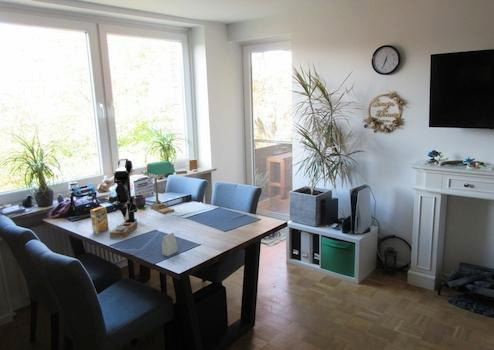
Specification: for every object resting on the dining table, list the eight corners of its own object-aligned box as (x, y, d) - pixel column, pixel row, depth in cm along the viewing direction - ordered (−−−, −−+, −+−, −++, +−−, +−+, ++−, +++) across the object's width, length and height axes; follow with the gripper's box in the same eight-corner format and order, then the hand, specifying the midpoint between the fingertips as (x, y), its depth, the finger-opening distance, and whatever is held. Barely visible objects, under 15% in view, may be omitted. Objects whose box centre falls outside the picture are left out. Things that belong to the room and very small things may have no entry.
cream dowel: (124, 218, 237) (123, 204, 235) (129, 218, 237) (128, 204, 235) (122, 220, 234) (121, 205, 233) (127, 220, 234) (126, 205, 232)
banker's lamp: (165, 205, 292) (161, 159, 285) (179, 210, 276) (176, 162, 270) (146, 209, 283) (141, 162, 276) (159, 215, 267) (155, 165, 260)
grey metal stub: (119, 233, 230) (118, 224, 228) (124, 233, 229) (123, 224, 228) (117, 235, 227) (116, 225, 226) (122, 235, 226) (121, 225, 225)
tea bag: (177, 251, 202) (175, 233, 200) (167, 256, 197) (166, 237, 195) (172, 250, 204) (170, 232, 202) (162, 254, 199) (161, 236, 197)
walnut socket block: (123, 228, 242) (122, 222, 241) (137, 228, 241) (136, 222, 240) (110, 239, 224) (109, 232, 224) (125, 239, 223) (124, 232, 223)
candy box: (97, 235, 232) (94, 210, 229) (92, 234, 235) (89, 209, 232) (109, 230, 240) (106, 206, 237) (104, 229, 242) (101, 205, 239)
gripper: (116, 187, 242) (119, 211, 245) (102, 195, 224) (105, 221, 227) (134, 187, 241) (136, 211, 244) (121, 194, 223) (124, 220, 226)
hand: (125, 216), depth 235 cm, fingers closed on cream dowel, 3 cm apart
